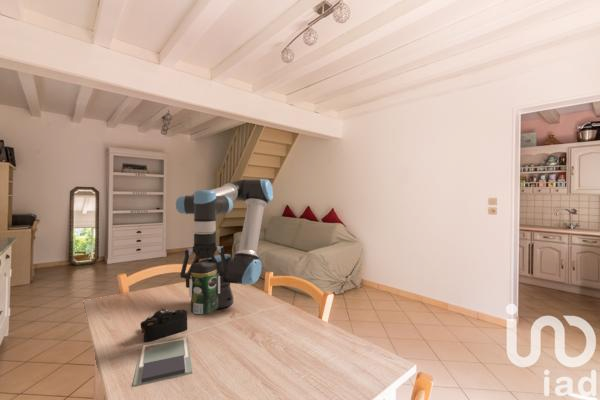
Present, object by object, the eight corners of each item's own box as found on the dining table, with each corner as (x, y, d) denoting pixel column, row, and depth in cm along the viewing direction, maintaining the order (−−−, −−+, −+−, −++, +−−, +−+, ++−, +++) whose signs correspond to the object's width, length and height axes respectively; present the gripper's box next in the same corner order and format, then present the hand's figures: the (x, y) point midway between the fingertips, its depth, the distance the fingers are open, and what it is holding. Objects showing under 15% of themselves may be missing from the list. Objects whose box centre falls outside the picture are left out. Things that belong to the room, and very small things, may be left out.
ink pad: (185, 358, 88) (185, 354, 88) (186, 372, 80) (186, 368, 80) (142, 367, 83) (142, 363, 83) (139, 383, 75) (139, 379, 75)
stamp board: (187, 339, 101) (187, 337, 101) (192, 373, 81) (192, 370, 81) (140, 348, 95) (140, 345, 95) (132, 387, 75) (132, 384, 75)
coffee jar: (204, 304, 107) (204, 256, 107) (221, 307, 104) (221, 258, 104) (186, 314, 98) (186, 261, 98) (204, 318, 95) (204, 264, 95)
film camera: (171, 322, 115) (171, 298, 115) (192, 329, 110) (192, 303, 110) (128, 341, 99) (128, 313, 99) (150, 350, 94) (151, 320, 94)
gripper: (232, 230, 109) (232, 287, 109) (171, 232, 100) (171, 295, 100) (237, 232, 102) (236, 293, 102) (172, 235, 93) (172, 302, 93)
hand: (204, 294), depth 101 cm, fingers closed on coffee jar, 9 cm apart
